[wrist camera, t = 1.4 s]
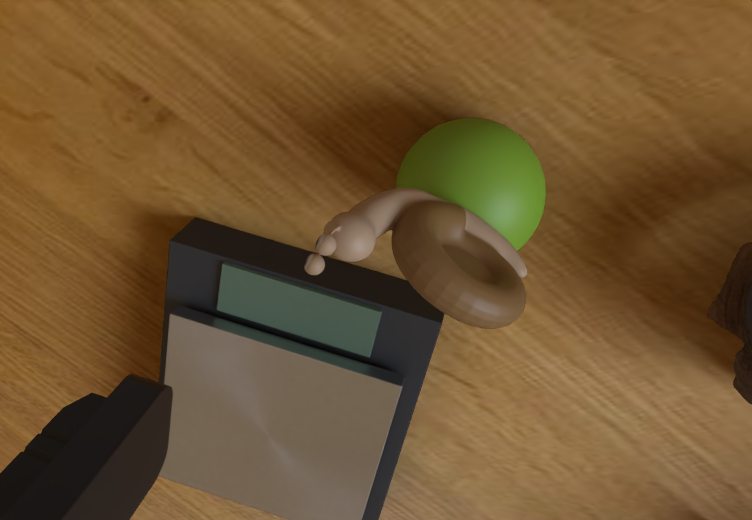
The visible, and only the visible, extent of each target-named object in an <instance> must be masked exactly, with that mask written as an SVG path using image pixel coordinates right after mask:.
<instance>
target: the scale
mask: <svg viewBox="0 0 752 520" xmlns="http://www.w3.org/2000/svg"><path fill="white" fill-rule="evenodd" d="M311 254H315V253H312V252H308V251H305V250H302V249H298V248H295V247H292V246H288V245H285V244H282V243H279V242H275V241H272V240H269V239H265V238H262V237H259V236H255V235H252V234H249V233H245V232H242V231H239V230H235V229H232V228H229V227H225V226H222V225H219V224H215V223H212V222H209V221H205V220H202V219H199V218H194V219H193V220H192V221H191V222H190V223H189V224H188V225H186V226H185V227H184V228H183V229H182V230H181V231H180V232H179V233H178V234H176V235H175V236H174V237H173V238H172V239H171V240H170V245H169V258H168V271H167V284H166V298H165V311H164V324H163V337H162V350H161V363H160V376H159V383H162V384H164V380H165V368H166V355H167V343H168V331H169V318H170V313H171V312H172V311H173V310H174V309H175V308H176V307H177V306H178V305H180V306H183V307H186V308H189V309H193V310H196V311H199V312H202V313H205V314H209V315H212V316H215V317H218V318H221V319H225V320H228V321H231V322H234V323H237V324H241V325H244V326H247V327H250V328H253V329H257V330H260V331H263V332H266V333H269V334H273V335H276V336H279V337H282V338H285V339H289V340H292V341H295V342H298V343H301V344H305V345H308V346H311V347H314V348H317V349H321V350H324V351H327V352H330V353H333V354H337V355H340V356H343V357H346V358H349V359H353V360H356V361H359V362H362V363H366V364H369V365H372V366H375V367H378V368H382V369H385V370H388V371H391V372H394V373H398V374H401V375H404V376H405V380H404V384H403V387H402V390H401V394H400V397H399V400H398V403H397V407H396V410H395V413H394V417H393V420H392V423H391V426H390V430H389V433H388V436H387V439H386V443H385V446H384V449H383V452H382V456H381V459H380V462H379V465H378V469H377V472H376V475H375V478H374V482H373V485H372V488H371V492H370V495H369V498H368V501H367V505H366V508H365V511H364V514H363V518H362V520H378V519H379V516H380V513H381V510H382V507H383V504H384V501H385V498H386V495H387V492H388V489H389V485H390V482H391V479H392V476H393V473H394V470H395V467H396V464H397V461H398V458H399V455H400V452H401V449H402V445H403V442H404V439H405V436H406V433H407V430H408V427H409V424H410V421H411V418H412V415H413V412H414V408H415V405H416V402H417V399H418V396H419V393H420V390H421V387H422V384H423V381H424V378H425V375H426V371H427V368H428V365H429V362H430V359H431V356H432V353H433V350H434V347H435V344H436V341H437V338H438V334H439V331H440V328H441V325H442V322H443V317H444V313H443V312H442V311H440V310H439V309H437V308H436V307H434V306H433V305H432V304H430V303H429V302H428V301H427V300H426V299H424V298H423V297H422V296H421V295H420V294H419V293H418V292H417V291H416V290H415V289H414V288H413V287H412V285H411V284H410V283H409V282H408V281H405V280H402V279H398V278H395V277H392V276H388V275H385V274H382V273H378V272H375V271H372V270H368V269H365V268H362V267H358V266H355V265H352V264H348V263H345V262H342V261H338V260H335V259H332V258H328V257H325V256H322V255H320V256H321V257H322V258H323V259H324V262H325V267H324V270H323V271H322V272H321V273H320V274H318V275H310V274H308V273H307V272H306V271H305V268H304V264H305V261H306V259H307V258H308V257H309V256H310V255H311Z"/></svg>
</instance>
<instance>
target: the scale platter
mask: <svg viewBox="0 0 752 520" xmlns="http://www.w3.org/2000/svg"><path fill="white" fill-rule="evenodd" d="M404 380H405V376H404V375H401V374H398V373H394V372H391V371H388V370H385V369H382V368H378V367H375V366H372V365H369V364H366V363H362V362H359V361H356V360H353V359H349V358H346V357H343V356H340V355H337V354H333V353H330V352H327V351H324V350H321V349H317V348H314V347H311V346H308V345H305V344H301V343H298V342H295V341H292V340H289V339H285V338H282V337H279V336H276V335H273V334H269V333H266V332H263V331H260V330H257V329H253V328H250V327H247V326H244V325H241V324H237V323H234V322H231V321H228V320H225V319H221V318H218V317H215V316H212V315H209V314H205V313H202V312H199V311H196V310H193V309H189V308H186V307H183V306H180V305H178V306H177V307H176V308H175V309H174V310H173V311H172V312H171V313H170V318H169V331H168V343H167V355H166V368H165V380H164V384H165V385H168V386H171V387H172V390H173V399H172V410H171V421H170V432H169V443H168V450H167V455H166V458H165V461H164V464H163V466H162V469H161V471H160V473H159V475H158V476H159V477H162V478H165V479H168V480H171V481H174V482H177V483H180V484H183V485H186V486H189V487H192V488H195V489H198V490H201V491H204V492H207V493H210V494H213V495H216V496H219V497H222V498H225V499H228V500H231V501H234V502H237V503H240V504H243V505H246V506H249V507H252V508H255V509H258V510H261V511H264V512H267V513H270V514H273V515H276V516H279V517H282V518H285V519H288V520H362V518H363V514H364V511H365V508H366V505H367V501H368V498H369V495H370V492H371V488H372V485H373V482H374V478H375V475H376V472H377V469H378V465H379V462H380V459H381V456H382V452H383V449H384V446H385V443H386V439H387V436H388V433H389V430H390V426H391V423H392V420H393V417H394V413H395V410H396V407H397V403H398V400H399V397H400V394H401V390H402V387H403V384H404Z"/></svg>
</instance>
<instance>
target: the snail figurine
mask: <svg viewBox="0 0 752 520" xmlns="http://www.w3.org/2000/svg"><path fill="white" fill-rule="evenodd" d="M545 199H546V185H545V178H544V173H543V170H542V167H541V164H540V162H539V160H538V158H537V156H536V154H535V152H534V151H533V149H532V148H531V147H530V145H529V144H528V143H527V142H526V141H525V140H524V139H523V138H522V137H521V136H520V135H519V134H517V133H516V132H515V131H513V130H512V129H510V128H508V127H506V126H505V125H502V124H500V123H498V122H495V121H491V120H487V119H481V118H461V119H456V120H452V121H448V122H445V123H443V124H440V125H438V126H436V127H434V128H433V129H431V130H429V131H428V132H427V133H425V134H424V135H423V136H421V137H420V138H419V139H418V140H417V141H416V142H415V143H414V145H413V146H412V147H411V148H410V150H409V151H408V153H407V154H406V156H405V157H404V159H403V161H402V164H401V166H400V169H399V172H398V175H397V179H396V186H395V189H390V190H386V191H383V192H380V193H377V194H375V195H373V196H371V197H369V198H367V199H365V200H364V201H362V202H360V203H359V204H357V205H356V206H355V207H353V208H352V209H351V210H350V211H349V212H344V213H340V214H338V215H336V216H335V217H334V218H333V219H332V221H330V222H328V223H327V224H326V226H325V228H324V232H323V235H321V236H320V237H319V238H318V240H317V242H316V246H315V248H316V250H317V252H318V254H311V255H310V256H309V257H308V258H307V259H306V261H305V264H304V268H305V271H306V272H307V273H308V274H310V275H318V274H320V273H321V272H322V271H323V270H324V267H325V262H324V259H323V258H322V257H321V256H320V254H321V255H324V256H328V255H331V254H332V255H334V256H335V257H336V258H338V259H340V260H343V261H348V262H355V261H360V260H362V259H364V258H366V257H367V256H369V255H370V254H371V252H372V251H373V249H374V246H375V242H376V238H378V237H379V236H381V235H382V234H384V233H386V232H387V231H389V230H392V231H393V233H392V249H393V254H394V257H395V260H396V263H397V265H398V266H399V268H400V270H401V272H402V273H403V275H404V276H405V278H406V279H407V280H408V281H409V283H410V284H411V285H412V287H413V288H414V289H415V290H416V291H417V292H418V293H419V294H420V295H421V296H422V297H423V298H424V299H426V300H427V301H428V302H429V303H430V304H432V305H433V306H434V307H436V308H437V309H439V310H440V311H442V312H443V313H445V314H446V315H448V316H450V317H452V318H454V319H456V320H458V321H461V322H463V323H466V324H468V325H471V326H475V327H479V328H485V329H495V328H501V327H505V326H508V325H510V324H511V323H513V322H514V321H516V320H517V319H518V318H519V317H520V315H521V314H522V312H523V310H524V308H525V303H526V292H525V288H524V285H523V282H522V280H521V278H523V277H525V276H526V275H527V269H526V266H525V264H524V262H523V260H522V259H521V257H520V255H519V254H518V252H517V251H518V250H519V249H520V248H521V247H522V246H523V245H524V244H525V243H526V242H527V241H528V240H529V239H530V237H531V236H532V235H533V233H534V232H535V230H536V228H537V226H538V224H539V222H540V220H541V217H542V214H543V210H544V206H545Z"/></svg>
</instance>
